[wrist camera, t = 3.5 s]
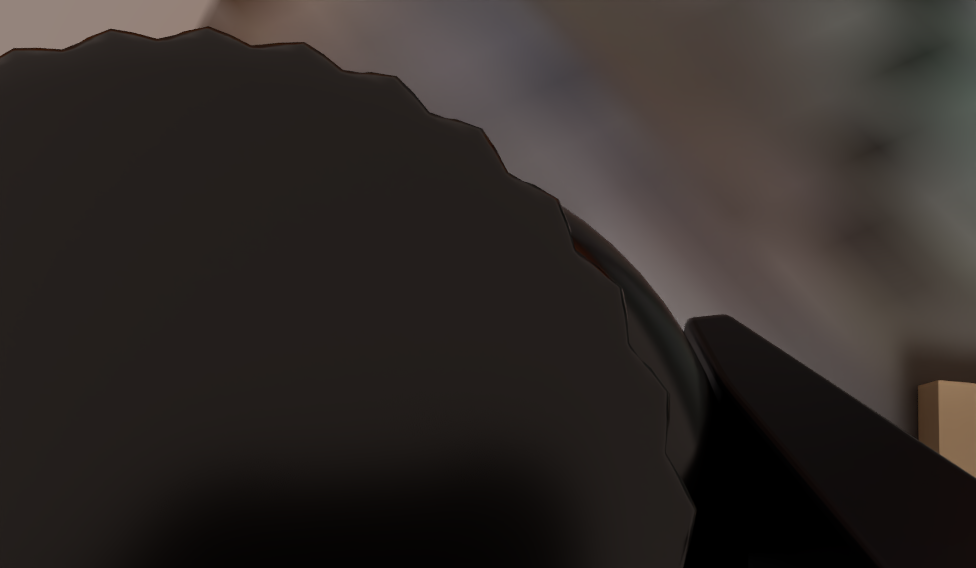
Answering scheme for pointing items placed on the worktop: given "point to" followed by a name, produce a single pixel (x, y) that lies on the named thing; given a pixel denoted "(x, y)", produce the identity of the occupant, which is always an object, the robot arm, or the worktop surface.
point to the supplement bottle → (322, 334)
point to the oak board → (949, 421)
